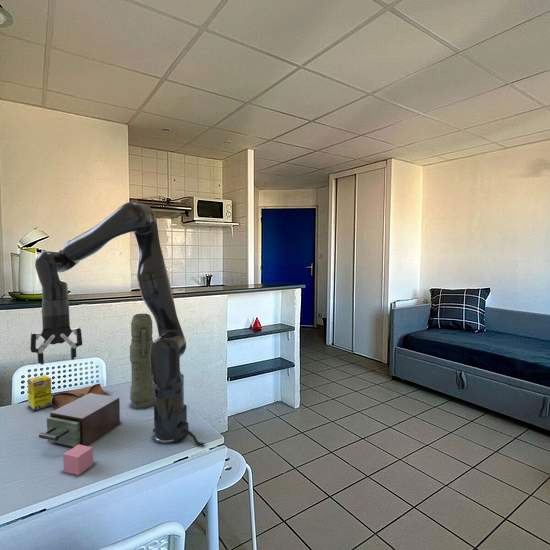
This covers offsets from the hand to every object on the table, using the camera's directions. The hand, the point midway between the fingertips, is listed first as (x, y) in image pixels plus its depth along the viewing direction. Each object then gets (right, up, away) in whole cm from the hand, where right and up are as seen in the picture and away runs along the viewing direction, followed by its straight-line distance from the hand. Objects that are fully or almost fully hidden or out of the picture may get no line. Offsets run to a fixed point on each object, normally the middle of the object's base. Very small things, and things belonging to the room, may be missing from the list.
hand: (57, 361), depth 115 cm
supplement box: (-17, -22, +17) cm, 33 cm away
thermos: (+20, -22, +21) cm, 36 cm away
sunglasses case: (-5, -21, +23) cm, 32 cm away
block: (+18, -25, -19) cm, 36 cm away
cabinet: (+10, -23, 0) cm, 25 cm away
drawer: (+8, -22, -5) cm, 24 cm away
